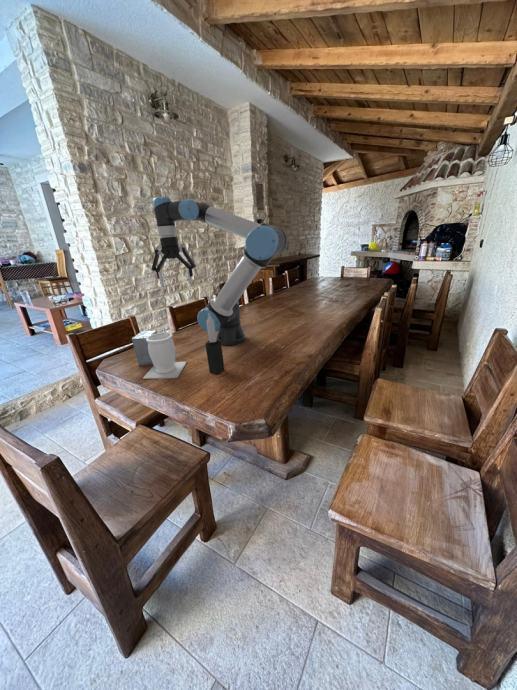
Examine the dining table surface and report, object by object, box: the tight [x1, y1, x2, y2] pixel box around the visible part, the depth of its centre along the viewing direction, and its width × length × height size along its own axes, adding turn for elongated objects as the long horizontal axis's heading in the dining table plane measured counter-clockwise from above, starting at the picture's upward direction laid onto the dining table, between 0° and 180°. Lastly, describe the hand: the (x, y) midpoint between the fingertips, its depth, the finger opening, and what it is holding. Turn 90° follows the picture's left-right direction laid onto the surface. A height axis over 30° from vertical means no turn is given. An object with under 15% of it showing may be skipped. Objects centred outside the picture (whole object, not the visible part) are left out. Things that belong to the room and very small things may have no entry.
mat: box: [142, 361, 188, 380], centre depth 118 cm, size 14×14×1 cm
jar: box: [146, 332, 176, 373], centre depth 115 cm, size 11×10×15 cm
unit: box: [131, 329, 158, 367], centre depth 127 cm, size 8×10×13 cm
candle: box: [204, 313, 225, 375], centre depth 110 cm, size 5×5×25 cm
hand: (176, 284), depth 131 cm, fingers open, 13 cm apart
